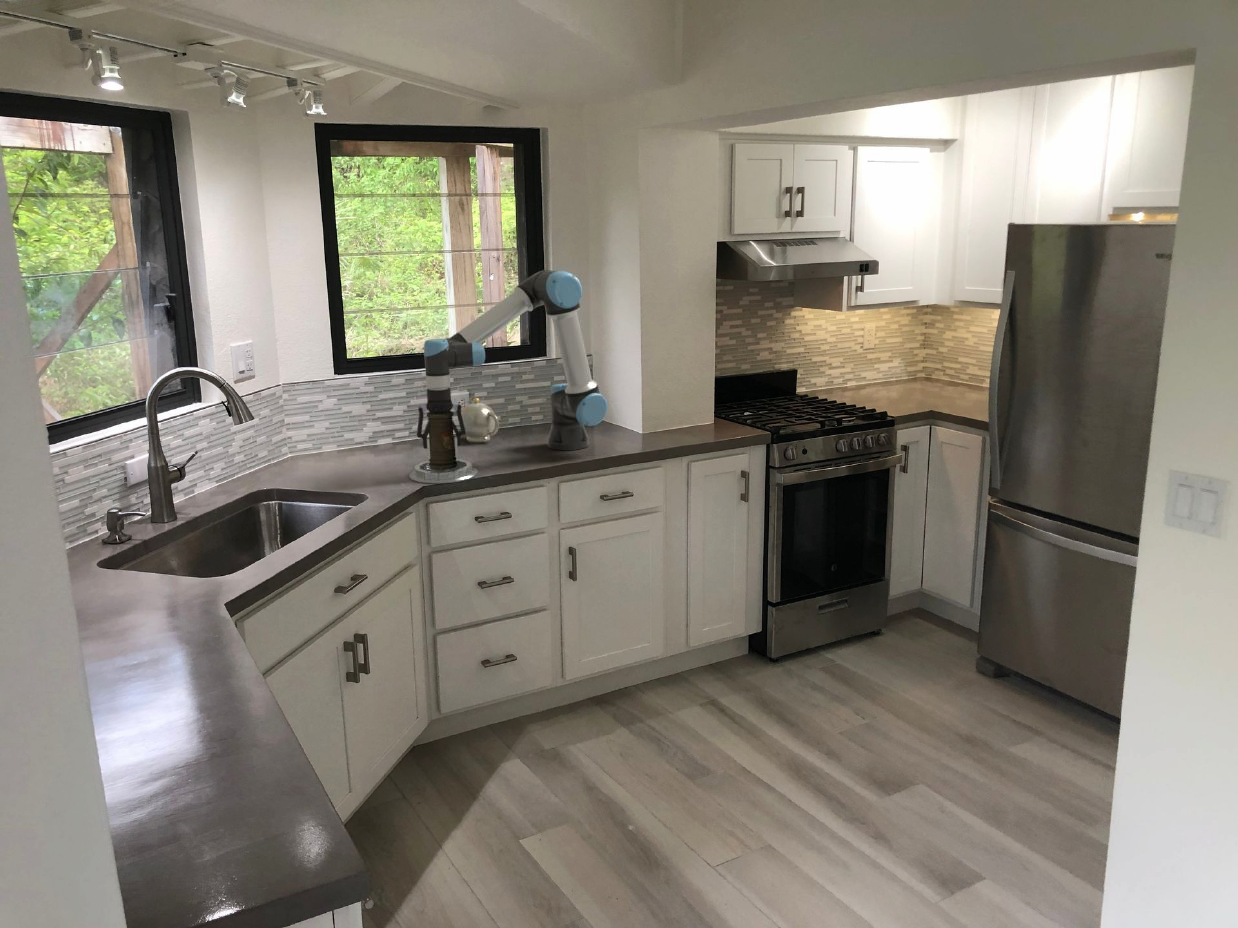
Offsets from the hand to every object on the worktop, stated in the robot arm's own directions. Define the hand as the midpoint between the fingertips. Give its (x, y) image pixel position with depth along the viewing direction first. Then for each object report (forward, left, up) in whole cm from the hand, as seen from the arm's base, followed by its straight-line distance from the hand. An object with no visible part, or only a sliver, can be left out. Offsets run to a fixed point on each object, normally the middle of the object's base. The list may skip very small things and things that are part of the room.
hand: (442, 456), depth 315 cm
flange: (0, 0, -6) cm, 6 cm away
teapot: (-19, -46, -6) cm, 50 cm away
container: (0, 0, -3) cm, 3 cm away
